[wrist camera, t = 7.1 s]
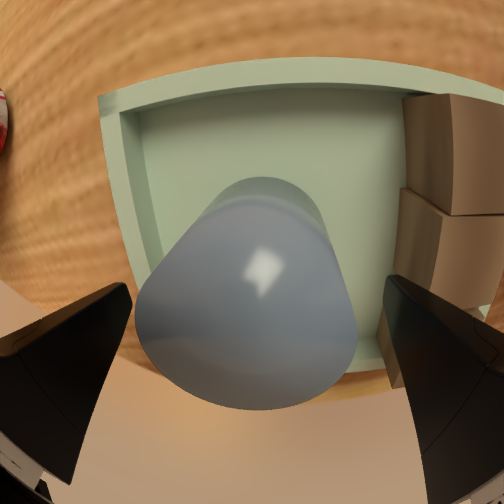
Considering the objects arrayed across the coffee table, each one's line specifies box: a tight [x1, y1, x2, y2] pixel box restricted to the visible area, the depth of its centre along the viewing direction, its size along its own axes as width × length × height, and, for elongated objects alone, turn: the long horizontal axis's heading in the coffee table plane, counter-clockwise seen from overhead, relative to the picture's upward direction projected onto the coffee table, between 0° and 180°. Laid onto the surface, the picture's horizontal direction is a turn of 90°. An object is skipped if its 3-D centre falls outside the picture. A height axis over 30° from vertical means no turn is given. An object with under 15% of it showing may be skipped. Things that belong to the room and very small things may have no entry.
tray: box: [98, 57, 504, 373], centre depth 12 cm, size 19×15×2 cm
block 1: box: [402, 93, 504, 216], centre depth 8 cm, size 4×4×4 cm
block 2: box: [393, 188, 504, 310], centre depth 10 cm, size 4×4×4 cm
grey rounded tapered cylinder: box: [135, 177, 358, 410], centre depth 10 cm, size 6×6×7 cm
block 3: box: [376, 306, 485, 389], centre depth 12 cm, size 4×4×4 cm
